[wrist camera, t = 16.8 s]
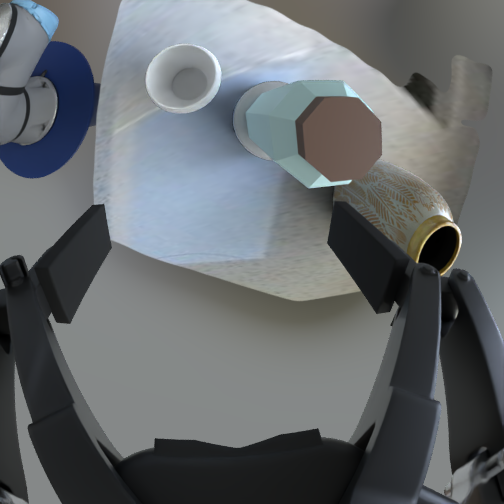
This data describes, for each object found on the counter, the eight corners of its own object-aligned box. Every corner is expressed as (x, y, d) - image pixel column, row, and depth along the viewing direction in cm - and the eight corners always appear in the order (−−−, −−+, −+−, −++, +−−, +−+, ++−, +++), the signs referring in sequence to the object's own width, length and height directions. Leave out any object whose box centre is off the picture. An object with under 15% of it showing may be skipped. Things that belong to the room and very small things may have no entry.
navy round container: (233, 83, 43) (236, 77, 35) (303, 90, 45) (319, 87, 37) (229, 150, 49) (231, 158, 42) (297, 154, 51) (311, 163, 43)
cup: (169, 56, 39) (150, 37, 26) (226, 63, 41) (230, 45, 28) (157, 109, 44) (134, 110, 31) (214, 116, 46) (212, 119, 33)
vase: (386, 227, 61) (455, 294, 38) (321, 228, 59) (379, 309, 36) (397, 157, 53) (487, 200, 29) (328, 150, 51) (410, 191, 28)
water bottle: (263, 163, 42) (314, 228, 21) (231, 109, 38) (247, 108, 16) (317, 134, 41) (415, 170, 19) (288, 80, 36) (370, 54, 14)
